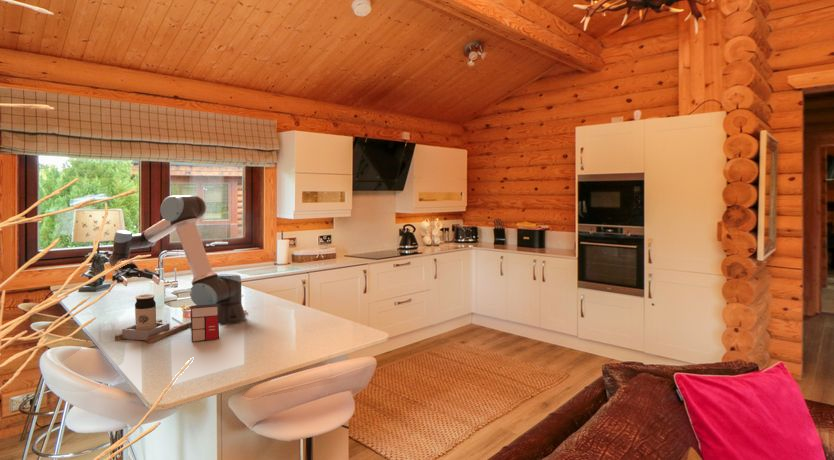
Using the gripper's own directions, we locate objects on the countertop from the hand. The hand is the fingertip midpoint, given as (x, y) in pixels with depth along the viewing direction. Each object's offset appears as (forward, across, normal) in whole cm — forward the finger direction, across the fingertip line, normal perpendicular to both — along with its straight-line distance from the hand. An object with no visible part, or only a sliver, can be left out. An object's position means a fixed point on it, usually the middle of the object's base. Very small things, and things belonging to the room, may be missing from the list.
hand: (143, 282), depth 224 cm
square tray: (+13, +1, -20) cm, 24 cm away
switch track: (+11, -4, -20) cm, 23 cm away
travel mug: (+14, +1, -20) cm, 24 cm away
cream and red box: (+36, -15, -15) cm, 42 cm away
